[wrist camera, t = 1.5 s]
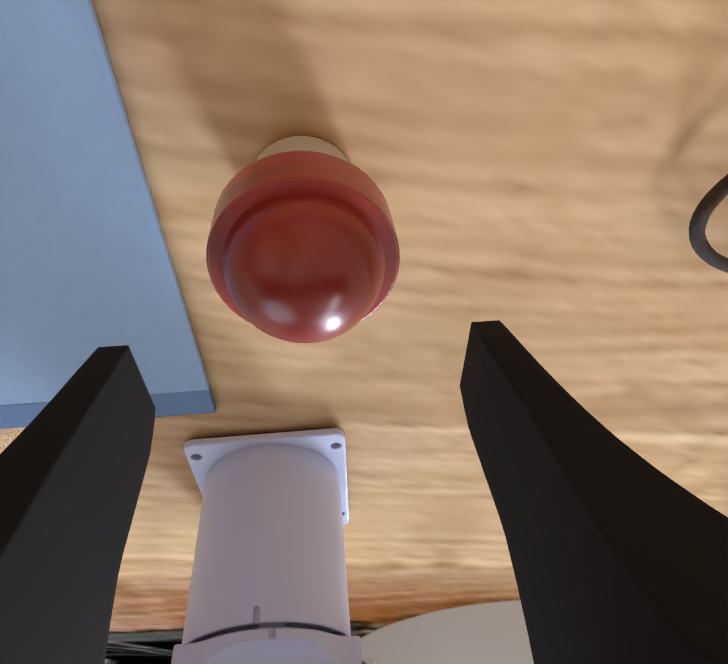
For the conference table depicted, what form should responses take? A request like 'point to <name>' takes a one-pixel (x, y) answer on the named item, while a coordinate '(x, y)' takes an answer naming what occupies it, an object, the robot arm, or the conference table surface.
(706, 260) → the telephone
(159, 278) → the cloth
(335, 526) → the robot arm
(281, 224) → the mushroom
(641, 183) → the conference table surface
